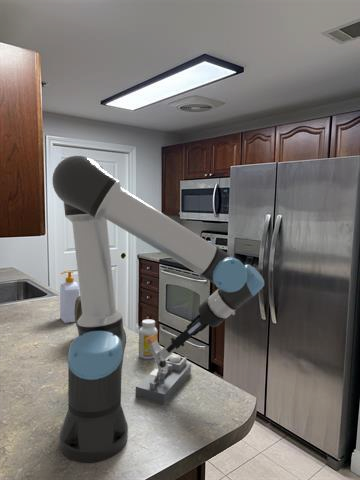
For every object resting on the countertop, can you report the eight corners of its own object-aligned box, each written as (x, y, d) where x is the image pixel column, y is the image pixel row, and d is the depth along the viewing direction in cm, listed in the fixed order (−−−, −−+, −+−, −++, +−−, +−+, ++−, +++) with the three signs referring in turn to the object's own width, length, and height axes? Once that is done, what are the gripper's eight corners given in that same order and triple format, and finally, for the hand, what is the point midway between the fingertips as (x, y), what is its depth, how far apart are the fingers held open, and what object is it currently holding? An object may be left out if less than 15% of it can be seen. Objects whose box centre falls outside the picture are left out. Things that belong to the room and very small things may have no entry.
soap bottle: (58, 318, 161) (58, 270, 159) (73, 316, 165) (73, 269, 163) (63, 324, 154) (63, 273, 152) (78, 321, 157) (79, 272, 155)
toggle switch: (158, 384, 98) (168, 361, 96) (155, 387, 96) (165, 364, 94) (153, 380, 99) (162, 357, 97) (149, 383, 97) (159, 360, 95)
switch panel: (190, 373, 112) (191, 358, 111) (164, 404, 93) (164, 387, 93) (165, 367, 115) (166, 353, 115) (135, 396, 97) (136, 379, 96)
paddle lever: (171, 370, 105) (155, 333, 106) (166, 375, 102) (149, 337, 103) (166, 371, 106) (151, 335, 107) (161, 377, 102) (144, 339, 104)
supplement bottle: (160, 356, 124) (161, 321, 123) (147, 361, 119) (148, 325, 118) (148, 350, 128) (149, 317, 127) (134, 355, 124) (135, 320, 123)
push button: (182, 361, 111) (182, 355, 111) (177, 365, 108) (177, 359, 108) (171, 359, 113) (172, 353, 112) (167, 363, 109) (167, 357, 109)
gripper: (218, 326, 89) (160, 374, 97) (231, 312, 101) (178, 356, 109) (200, 303, 91) (144, 353, 99) (214, 293, 103) (163, 338, 111)
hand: (162, 355), depth 104 cm, fingers closed
